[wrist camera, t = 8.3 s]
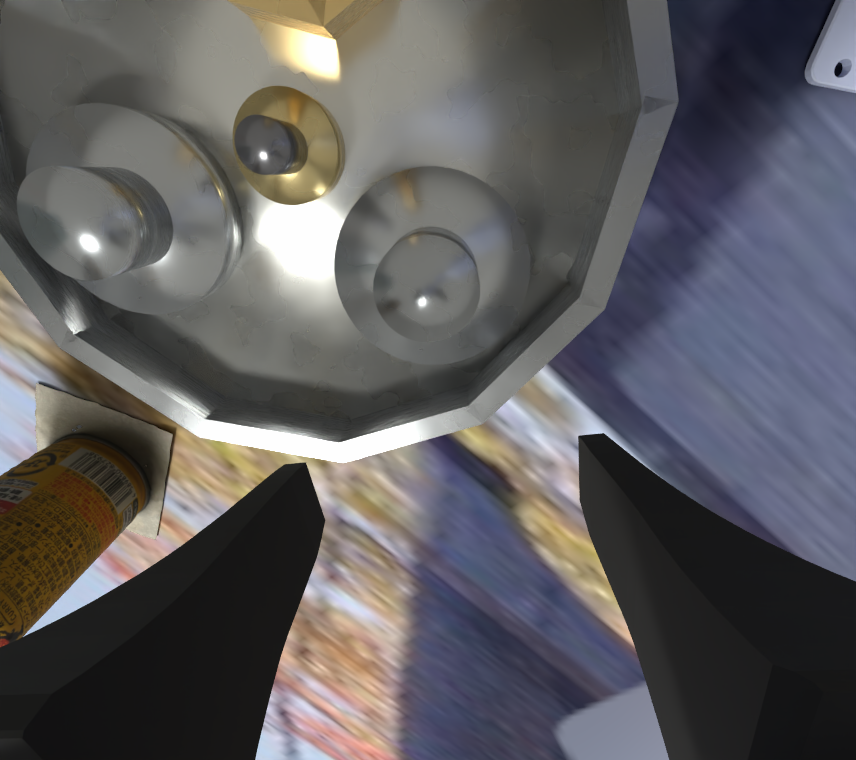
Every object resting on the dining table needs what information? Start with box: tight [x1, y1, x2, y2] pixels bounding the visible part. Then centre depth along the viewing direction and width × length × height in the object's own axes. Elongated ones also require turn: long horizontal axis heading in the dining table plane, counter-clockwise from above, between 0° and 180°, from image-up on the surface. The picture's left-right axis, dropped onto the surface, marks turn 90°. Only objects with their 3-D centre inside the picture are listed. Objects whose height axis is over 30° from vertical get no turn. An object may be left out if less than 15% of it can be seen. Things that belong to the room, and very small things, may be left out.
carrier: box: [0, 0, 679, 463], centre depth 15 cm, size 24×24×6 cm
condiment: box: [0, 383, 173, 647], centre depth 20 cm, size 7×8×12 cm
